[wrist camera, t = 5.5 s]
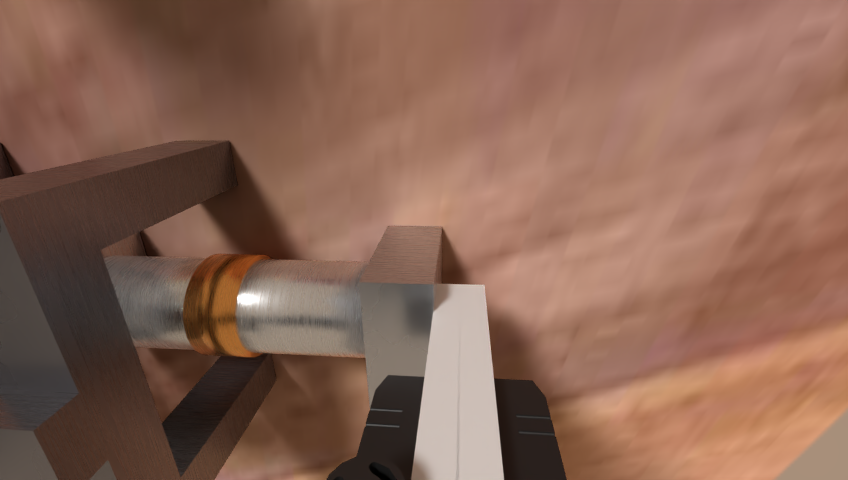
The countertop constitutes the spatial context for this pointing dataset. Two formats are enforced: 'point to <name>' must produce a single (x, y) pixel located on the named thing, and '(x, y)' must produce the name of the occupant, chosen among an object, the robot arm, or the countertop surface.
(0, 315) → the collar rail
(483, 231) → the countertop surface
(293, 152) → the countertop surface
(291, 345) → the tube
